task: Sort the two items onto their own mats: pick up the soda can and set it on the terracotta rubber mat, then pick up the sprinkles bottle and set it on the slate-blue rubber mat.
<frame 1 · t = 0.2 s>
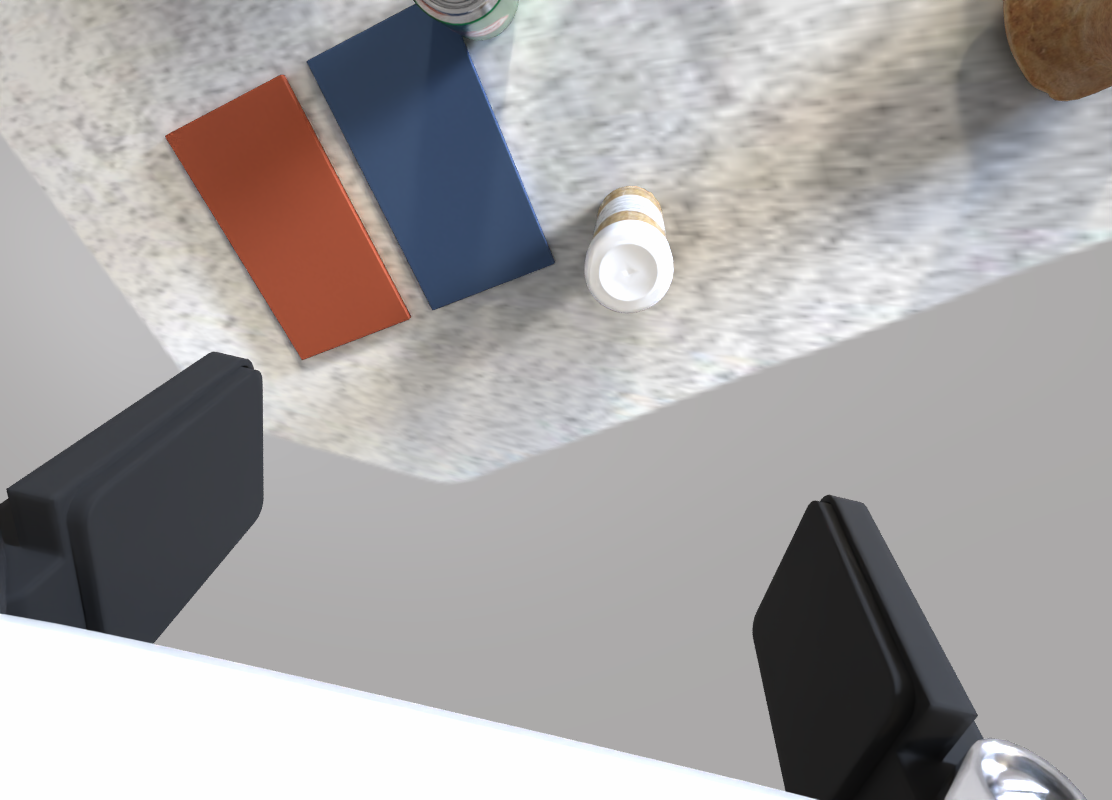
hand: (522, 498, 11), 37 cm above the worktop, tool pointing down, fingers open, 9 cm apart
slate-blue mat: (438, 166, 45), on the worktop
terracotta mat: (295, 230, 48), on the worktop
sprinkles bottle: (629, 217, 45), on the worktop
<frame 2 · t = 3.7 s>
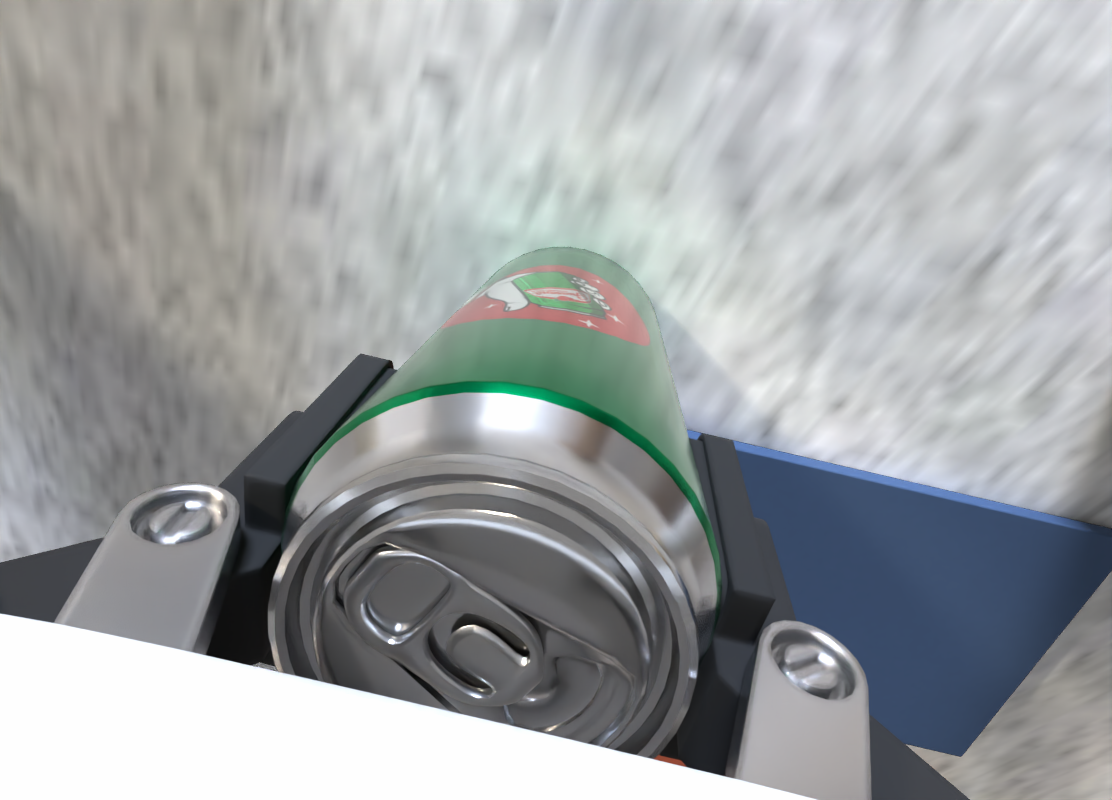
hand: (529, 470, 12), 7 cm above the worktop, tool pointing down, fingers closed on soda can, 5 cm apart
soda can: (564, 337, 18), on the worktop, touching gripper, slate-blue mat
slate-blue mat: (760, 586, 21), on the worktop
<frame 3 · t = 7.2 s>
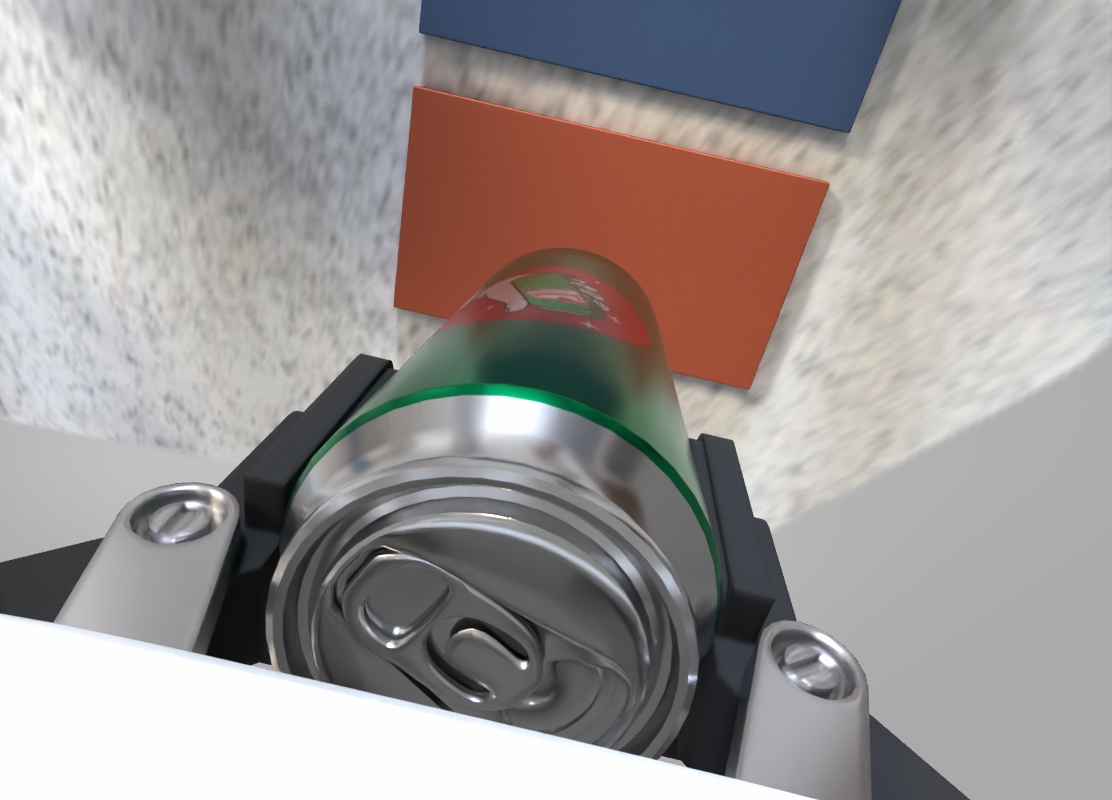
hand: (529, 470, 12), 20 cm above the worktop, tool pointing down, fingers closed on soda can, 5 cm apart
soda can: (564, 337, 18), point 14 cm above the worktop, touching gripper
terracotta mat: (595, 247, 30), on the worktop
when the fingers open (7 cm above the worktop, at t = 10.5 s): soda can stays where it is, resting on terracotta mat.
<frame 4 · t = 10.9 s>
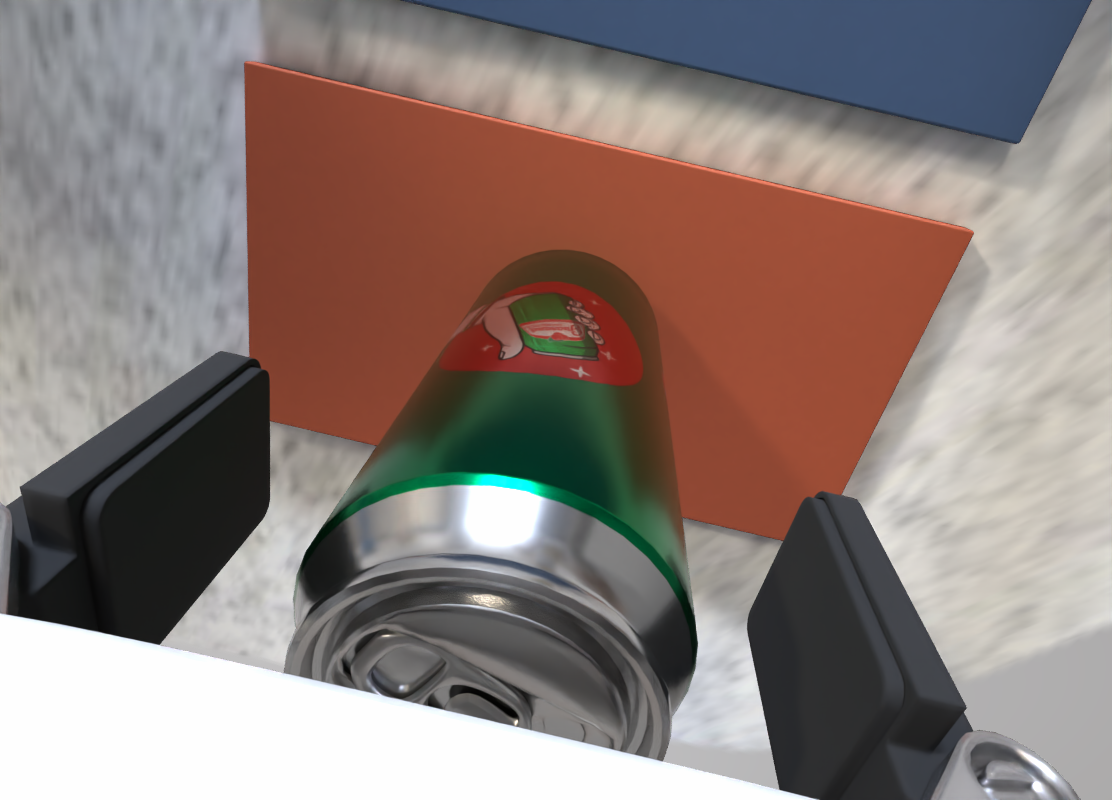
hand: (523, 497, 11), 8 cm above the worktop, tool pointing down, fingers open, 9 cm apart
soda can: (565, 333, 18), resting on terracotta mat
terracotta mat: (567, 329, 18), on the worktop
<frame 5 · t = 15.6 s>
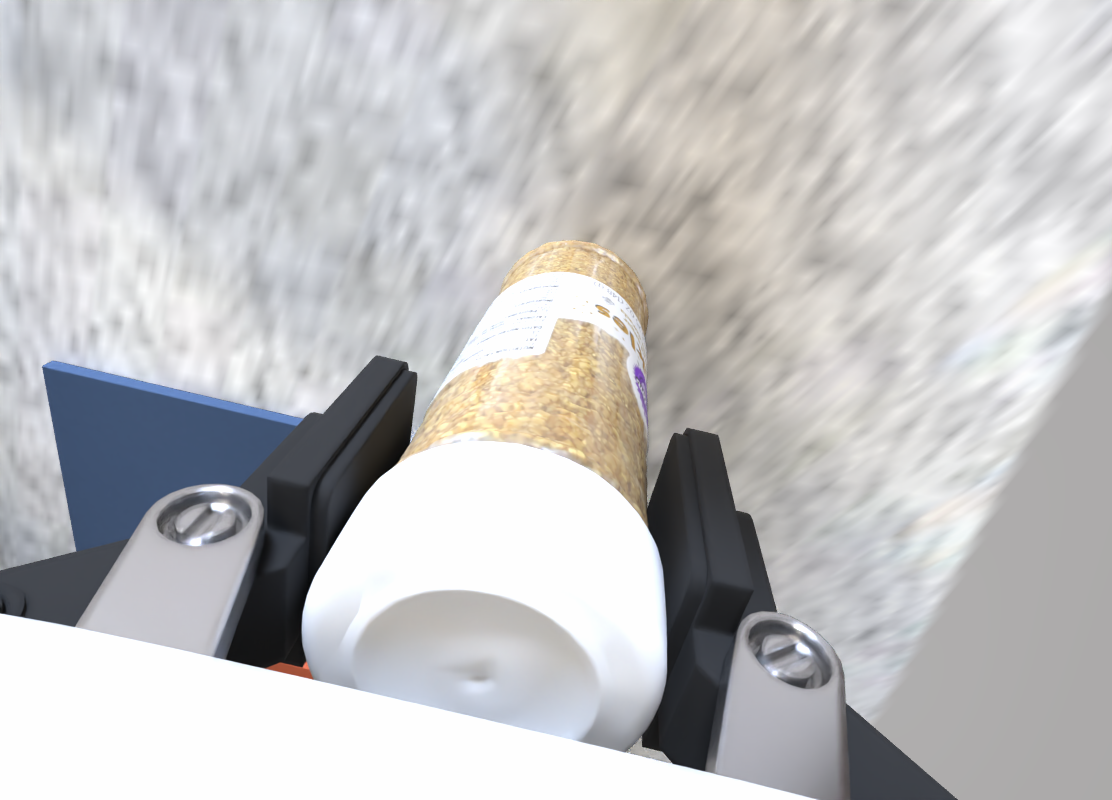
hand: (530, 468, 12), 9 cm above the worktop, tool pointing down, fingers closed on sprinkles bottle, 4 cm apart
slate-blue mat: (304, 531, 25), on the worktop
terracotta mat: (298, 729, 30), on the worktop
sprinkles bottle: (571, 308, 20), on the worktop, touching gripper
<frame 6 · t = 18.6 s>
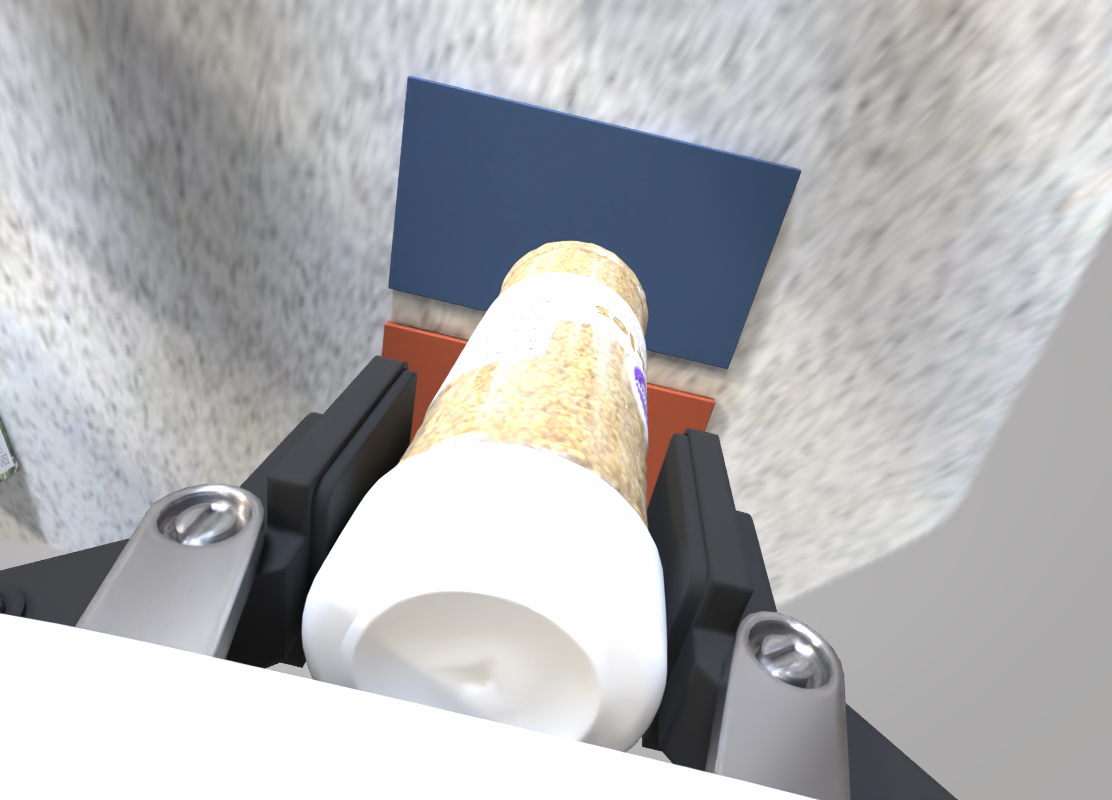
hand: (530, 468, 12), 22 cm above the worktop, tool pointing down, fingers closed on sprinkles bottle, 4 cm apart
slate-blue mat: (580, 231, 32), on the worktop
terracotta mat: (533, 437, 37), on the worktop
sprinkles bottle: (571, 308, 20), point 13 cm above the worktop, touching gripper
when the fingers open (9 cm above the worktop, at t = 21.8 s): sprinkles bottle stays where it is, resting on slate-blue mat.
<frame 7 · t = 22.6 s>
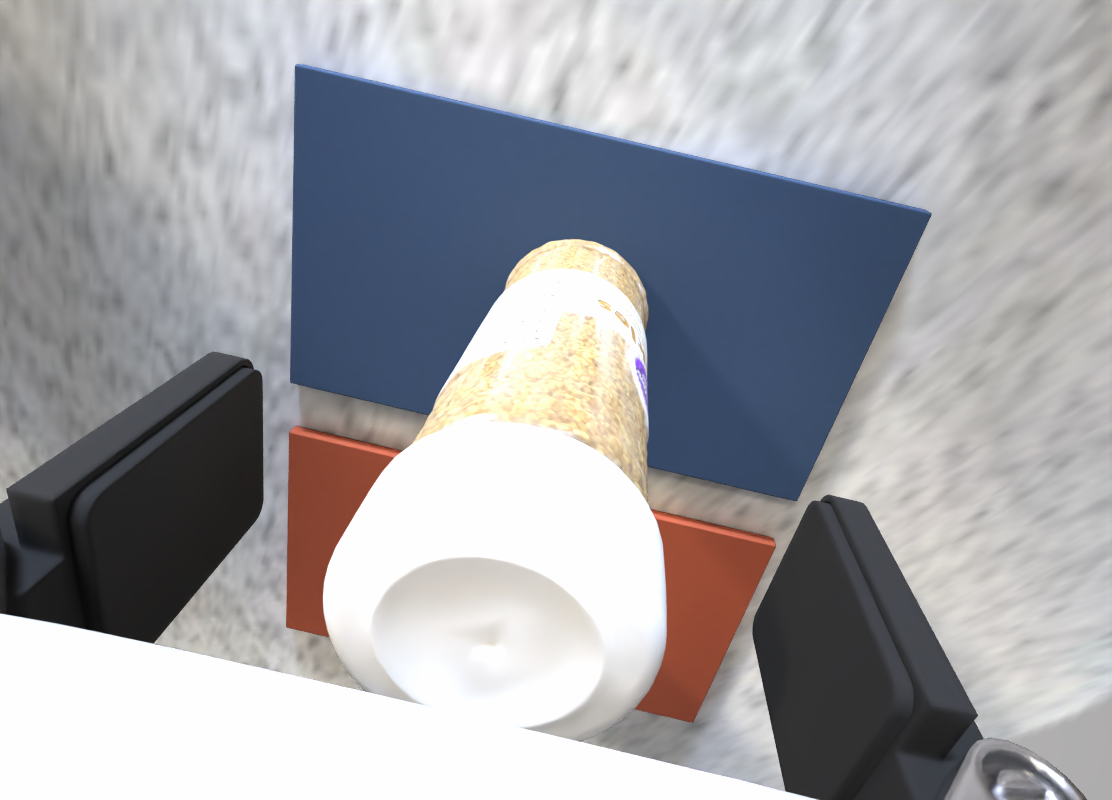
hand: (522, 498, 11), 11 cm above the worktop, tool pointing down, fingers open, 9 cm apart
slate-blue mat: (575, 302, 21), on the worktop
terracotta mat: (511, 581, 26), on the worktop
sprinkles bottle: (574, 305, 20), resting on slate-blue mat
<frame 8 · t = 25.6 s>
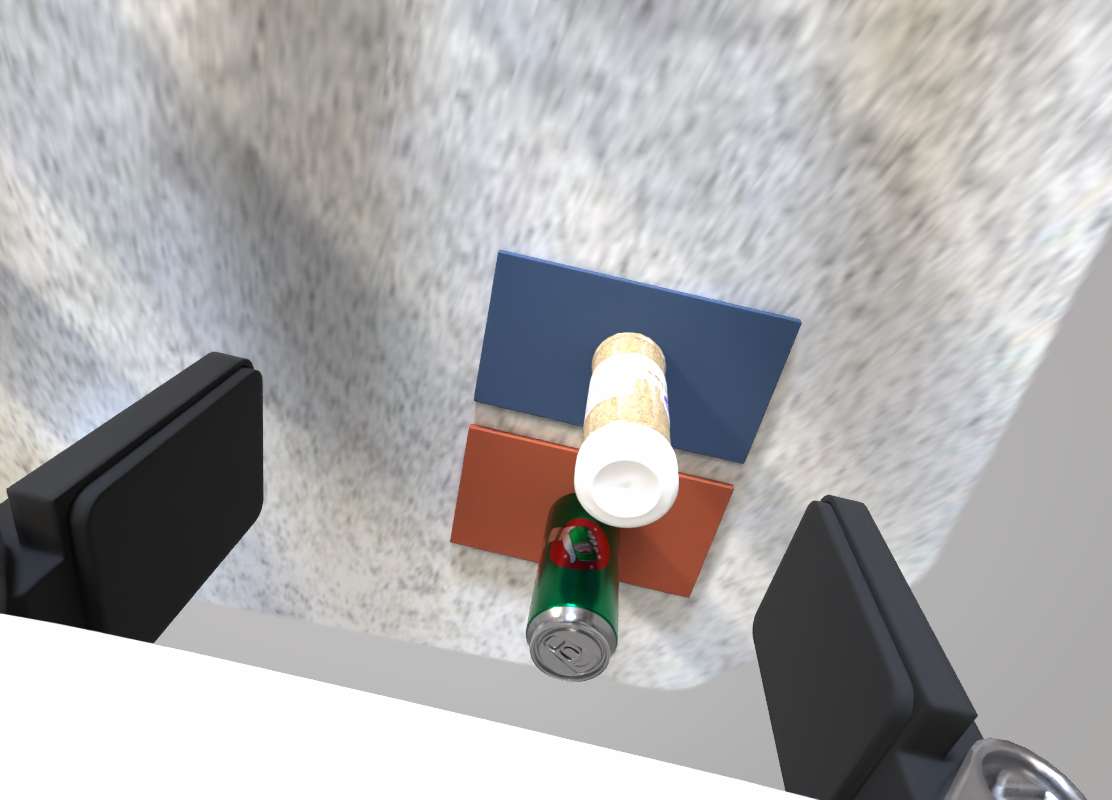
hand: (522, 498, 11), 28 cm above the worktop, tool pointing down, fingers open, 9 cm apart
soda can: (584, 515, 46), resting on terracotta mat
slate-blue mat: (628, 360, 40), on the worktop
terracotta mat: (585, 512, 46), on the worktop
sprinkles bottle: (627, 362, 40), resting on slate-blue mat
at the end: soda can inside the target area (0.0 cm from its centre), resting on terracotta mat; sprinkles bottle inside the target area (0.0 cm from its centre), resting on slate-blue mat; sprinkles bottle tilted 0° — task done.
